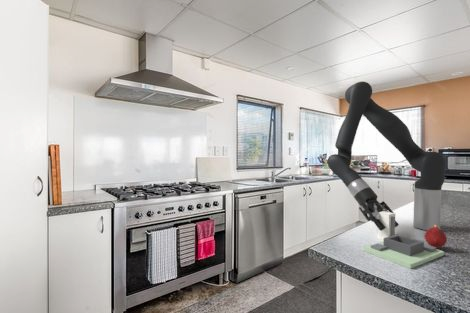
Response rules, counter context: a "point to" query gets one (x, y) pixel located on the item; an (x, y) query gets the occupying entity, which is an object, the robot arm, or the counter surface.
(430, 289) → the counter surface
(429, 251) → the board
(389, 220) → the plug
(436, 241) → the onion
